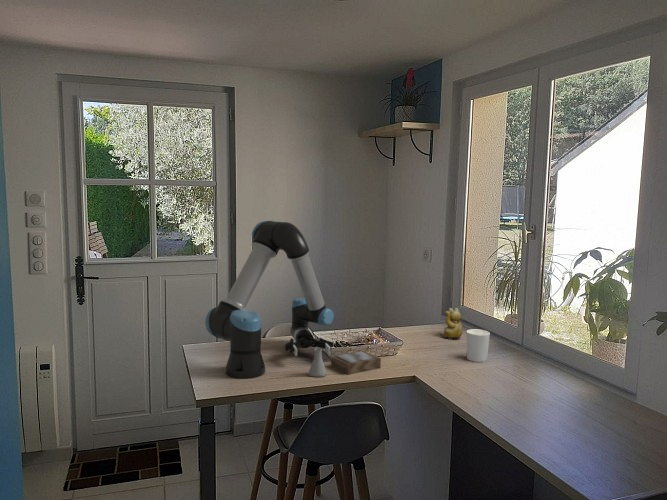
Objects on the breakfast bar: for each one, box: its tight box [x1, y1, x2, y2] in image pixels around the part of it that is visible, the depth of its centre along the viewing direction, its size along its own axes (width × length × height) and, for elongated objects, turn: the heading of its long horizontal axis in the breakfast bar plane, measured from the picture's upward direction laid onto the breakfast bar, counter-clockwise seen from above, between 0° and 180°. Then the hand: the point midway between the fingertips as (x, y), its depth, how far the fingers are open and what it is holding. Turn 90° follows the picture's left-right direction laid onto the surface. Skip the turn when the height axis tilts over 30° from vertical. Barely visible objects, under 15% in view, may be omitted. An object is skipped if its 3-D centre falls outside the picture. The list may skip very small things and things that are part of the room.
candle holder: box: [466, 328, 491, 363], centre depth 233 cm, size 10×10×12 cm
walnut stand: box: [330, 350, 382, 375], centre depth 219 cm, size 16×12×4 cm
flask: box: [308, 347, 328, 378], centre depth 209 cm, size 7×7×10 cm
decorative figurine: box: [443, 307, 463, 340], centre depth 267 cm, size 10×8×15 cm
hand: (313, 351), depth 218 cm, fingers open, 13 cm apart
